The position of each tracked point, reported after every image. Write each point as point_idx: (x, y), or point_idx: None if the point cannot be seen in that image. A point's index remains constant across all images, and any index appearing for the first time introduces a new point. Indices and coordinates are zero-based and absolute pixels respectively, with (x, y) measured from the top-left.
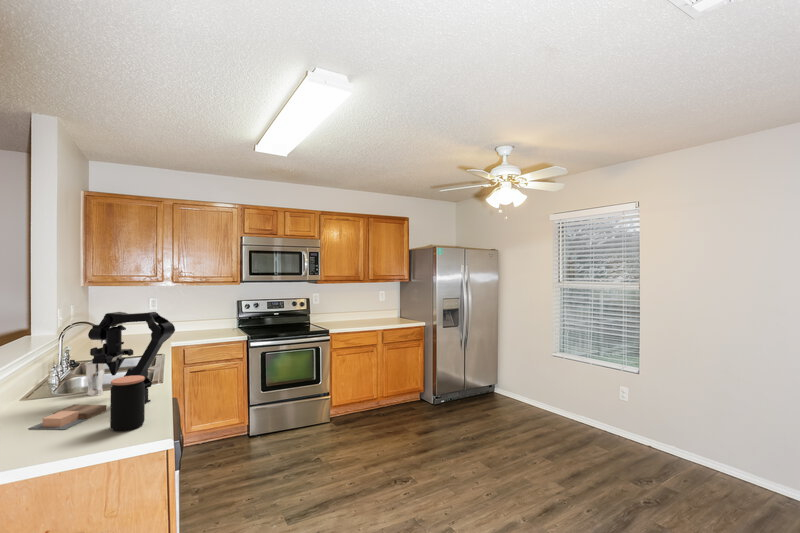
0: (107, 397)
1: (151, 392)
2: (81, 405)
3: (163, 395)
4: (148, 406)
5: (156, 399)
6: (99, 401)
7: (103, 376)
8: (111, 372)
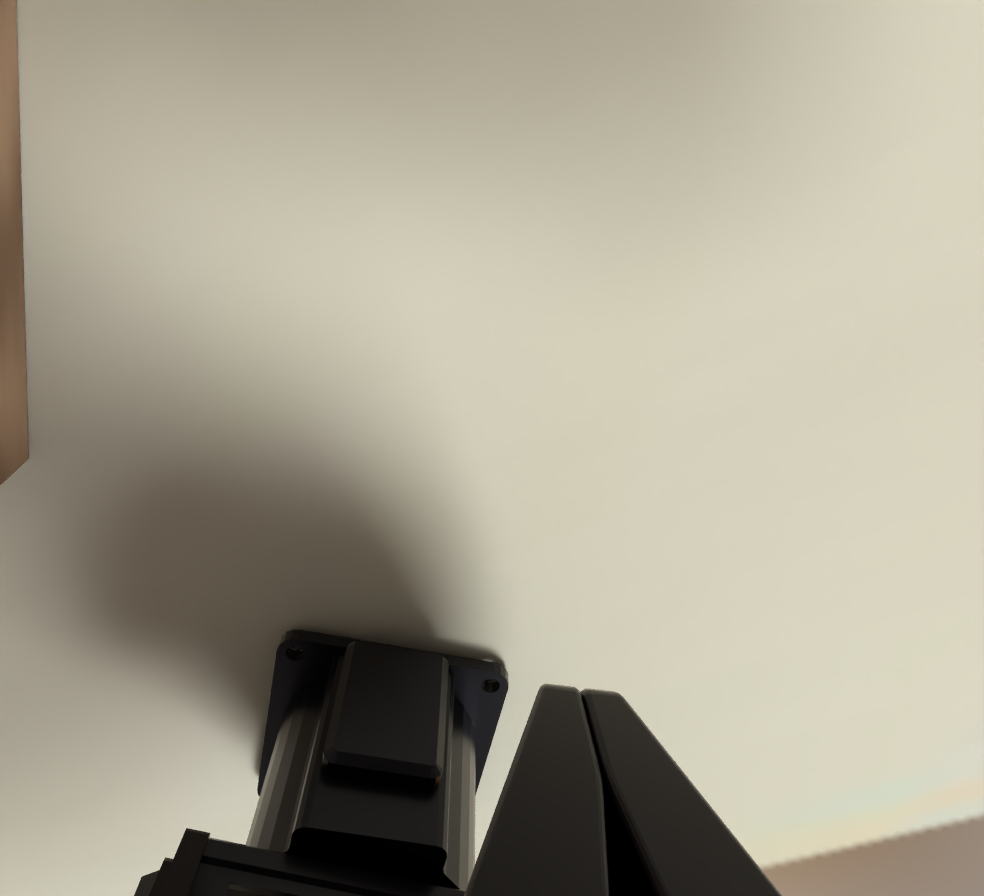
0: (915, 45)
1: (945, 682)
2: None
3: None
4: None
5: None
6: (635, 17)
7: None
8: (501, 797)
